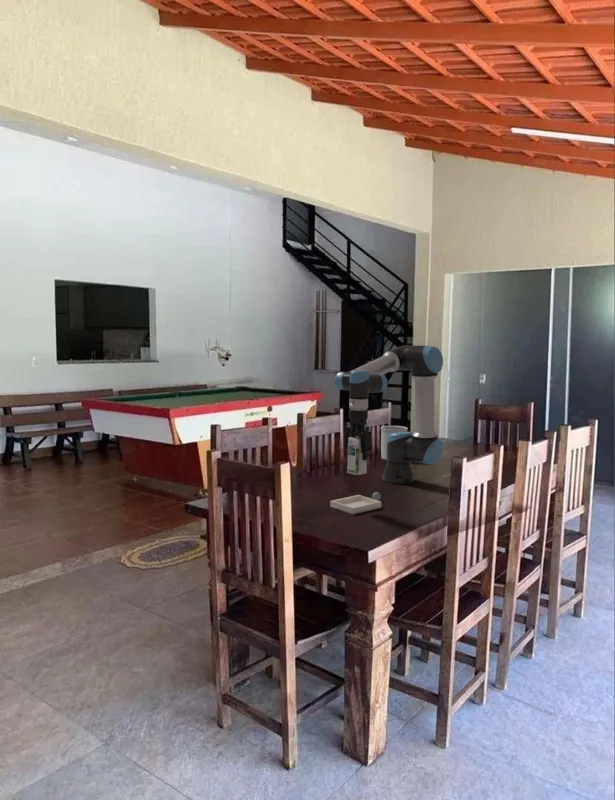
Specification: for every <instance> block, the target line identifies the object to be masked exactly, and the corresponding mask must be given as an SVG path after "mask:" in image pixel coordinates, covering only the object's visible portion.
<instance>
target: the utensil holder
mask: <svg viewBox="0 0 615 800" xmlns="http://www.w3.org/2000/svg"><path fill="white" fill-rule="evenodd" d="M380 430H381V431H380V432H381V434H380V435H381V437H380V439H381V440H380V442H381V443H380V456H381V459H382V460H386V461H387V441H388V435H389V434H391V433H396V432H408V430H409V428H408V427H406V426H403V425H402V426H401V425H384V426H383V425H382V426H381V427H380Z"/></svg>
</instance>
